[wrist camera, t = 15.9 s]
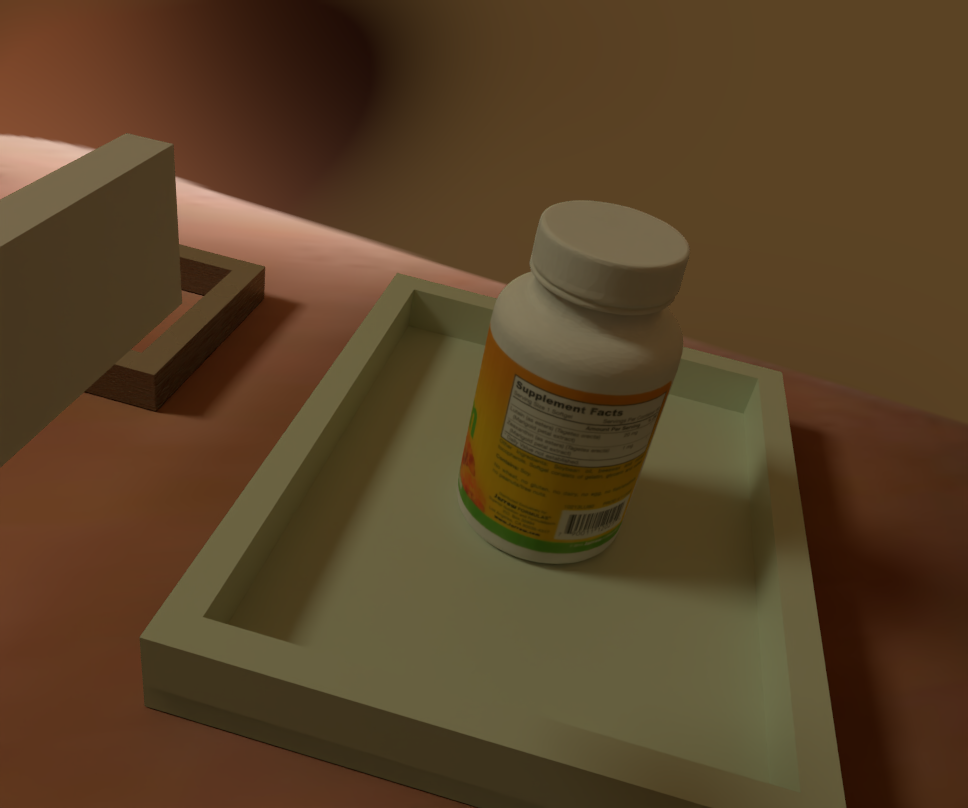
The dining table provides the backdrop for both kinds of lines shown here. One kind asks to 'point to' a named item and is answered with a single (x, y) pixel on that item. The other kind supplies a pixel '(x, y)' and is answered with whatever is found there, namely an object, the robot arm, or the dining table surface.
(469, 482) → the supplement bottle
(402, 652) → the tray
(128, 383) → the holder ring
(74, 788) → the dining table surface
